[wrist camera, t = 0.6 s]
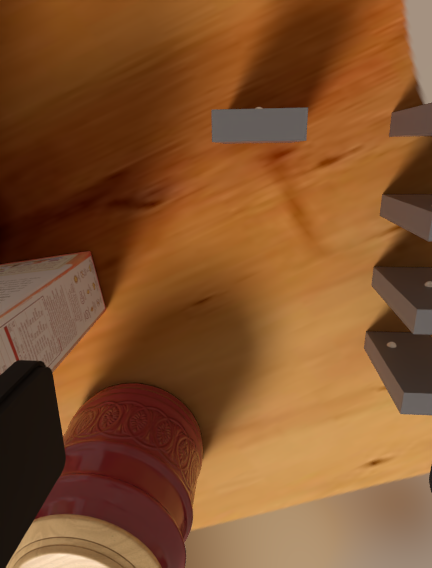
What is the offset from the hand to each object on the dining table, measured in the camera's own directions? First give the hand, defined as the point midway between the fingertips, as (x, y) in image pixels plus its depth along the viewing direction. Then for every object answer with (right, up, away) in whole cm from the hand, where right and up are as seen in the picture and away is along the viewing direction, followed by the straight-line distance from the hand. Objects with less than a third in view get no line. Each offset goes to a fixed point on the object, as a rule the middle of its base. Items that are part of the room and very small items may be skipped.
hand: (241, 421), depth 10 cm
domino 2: (+14, +15, +19) cm, 28 cm away
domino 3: (+14, +9, +21) cm, 27 cm away
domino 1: (+2, +15, +20) cm, 25 cm away
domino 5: (+15, -2, +24) cm, 29 cm away
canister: (-8, -12, +30) cm, 33 cm away
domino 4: (+15, +4, +23) cm, 27 cm away
